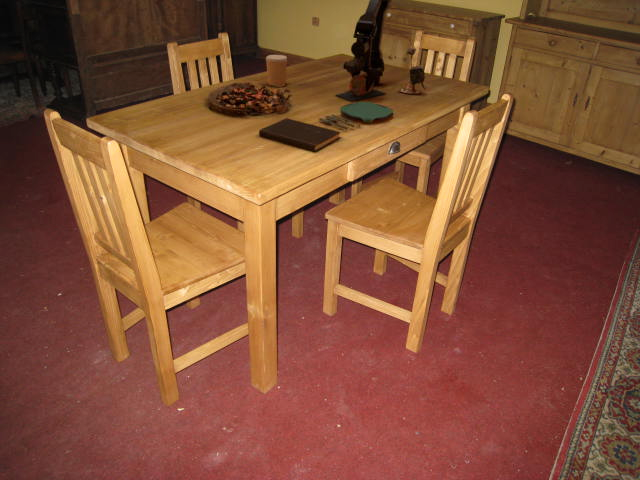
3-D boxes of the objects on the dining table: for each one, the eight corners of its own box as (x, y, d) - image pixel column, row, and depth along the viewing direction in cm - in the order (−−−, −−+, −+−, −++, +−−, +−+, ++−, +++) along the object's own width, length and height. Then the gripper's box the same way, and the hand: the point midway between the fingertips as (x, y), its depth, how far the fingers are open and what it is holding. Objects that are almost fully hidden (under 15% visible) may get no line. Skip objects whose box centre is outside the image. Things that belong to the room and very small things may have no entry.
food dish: (308, 108, 208) (309, 89, 204) (245, 128, 188) (244, 107, 183) (251, 86, 227) (251, 68, 223) (188, 102, 207) (187, 83, 202)
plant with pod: (418, 97, 223) (425, 49, 213) (396, 91, 229) (401, 44, 218) (427, 93, 229) (434, 46, 218) (405, 88, 234) (411, 42, 224)
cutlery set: (402, 116, 200) (403, 111, 199) (349, 133, 182) (349, 127, 181) (364, 104, 212) (365, 98, 211) (311, 119, 194) (311, 113, 193)
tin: (353, 97, 217) (354, 77, 213) (347, 96, 219) (349, 76, 215) (374, 90, 227) (376, 71, 223) (368, 89, 229) (370, 70, 225)
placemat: (369, 88, 232) (369, 87, 231) (385, 94, 225) (385, 93, 225) (335, 95, 221) (335, 94, 220) (351, 101, 214) (351, 100, 214)
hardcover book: (286, 124, 188) (286, 118, 187) (340, 138, 178) (340, 131, 177) (258, 136, 177) (258, 130, 176) (314, 152, 167) (314, 145, 165)
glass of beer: (291, 84, 234) (291, 56, 227) (279, 88, 227) (278, 60, 221) (274, 80, 238) (274, 53, 231) (262, 84, 231) (261, 57, 225)
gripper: (334, 49, 215) (332, 87, 223) (365, 58, 203) (362, 98, 211) (354, 46, 221) (351, 83, 229) (385, 55, 209) (381, 93, 217)
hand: (361, 89), depth 222 cm, fingers open, 7 cm apart
